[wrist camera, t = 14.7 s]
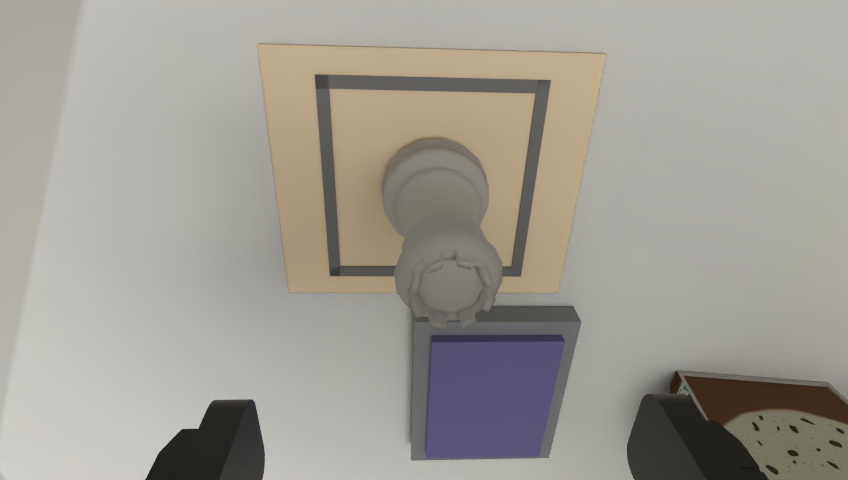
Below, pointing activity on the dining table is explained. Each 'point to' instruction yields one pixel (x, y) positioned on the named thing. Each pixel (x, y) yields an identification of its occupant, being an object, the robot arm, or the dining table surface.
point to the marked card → (409, 123)
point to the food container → (776, 421)
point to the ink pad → (491, 383)
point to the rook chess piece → (441, 232)
